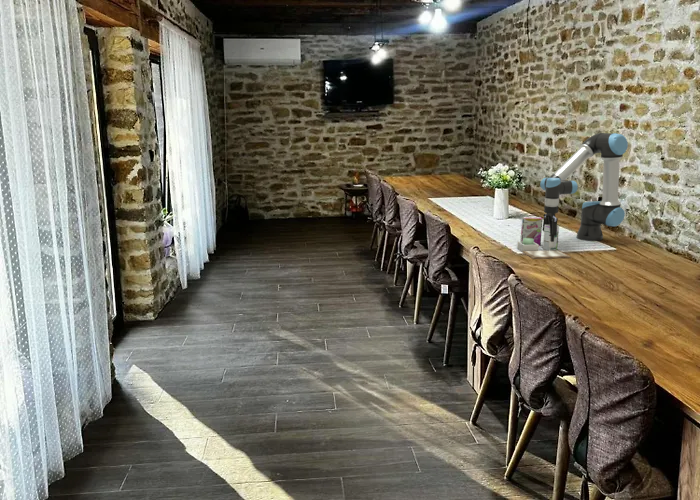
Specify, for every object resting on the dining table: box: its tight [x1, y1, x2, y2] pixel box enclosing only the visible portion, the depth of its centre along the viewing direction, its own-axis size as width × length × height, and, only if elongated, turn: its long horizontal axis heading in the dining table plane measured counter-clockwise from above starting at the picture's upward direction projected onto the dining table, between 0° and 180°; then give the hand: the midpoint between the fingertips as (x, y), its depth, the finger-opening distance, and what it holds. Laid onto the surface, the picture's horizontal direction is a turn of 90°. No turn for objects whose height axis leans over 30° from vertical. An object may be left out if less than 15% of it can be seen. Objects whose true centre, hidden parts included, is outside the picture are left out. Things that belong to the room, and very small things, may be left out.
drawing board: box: [522, 249, 572, 260], centre depth 335 cm, size 21×15×1 cm
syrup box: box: [542, 224, 560, 251], centre depth 346 cm, size 6×6×14 cm
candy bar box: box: [519, 216, 544, 246], centre depth 359 cm, size 11×5×16 cm, turn 84°
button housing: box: [516, 241, 540, 253], centre depth 347 cm, size 9×9×4 cm
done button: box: [523, 238, 534, 245], centre depth 346 cm, size 6×6×4 cm
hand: (548, 245), depth 347 cm, fingers closed on syrup box, 7 cm apart
